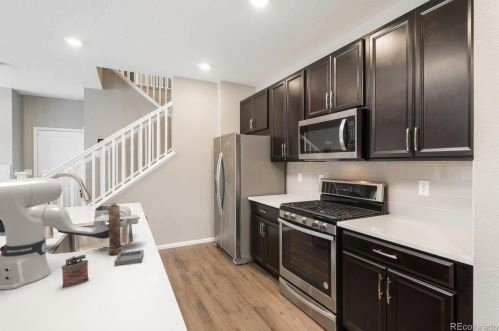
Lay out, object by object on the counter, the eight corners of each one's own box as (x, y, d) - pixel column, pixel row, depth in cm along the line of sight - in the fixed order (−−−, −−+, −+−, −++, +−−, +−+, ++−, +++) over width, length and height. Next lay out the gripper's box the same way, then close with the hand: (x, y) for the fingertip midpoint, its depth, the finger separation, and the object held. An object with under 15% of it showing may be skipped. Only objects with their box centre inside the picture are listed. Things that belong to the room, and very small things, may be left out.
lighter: (62, 288, 89) (61, 261, 88) (61, 285, 91) (60, 258, 91) (89, 281, 94) (88, 254, 94) (87, 278, 97) (87, 252, 96)
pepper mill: (107, 255, 118) (105, 203, 118) (110, 251, 124) (108, 202, 123) (120, 254, 120) (119, 203, 119) (122, 250, 125) (121, 201, 125)
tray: (114, 266, 107) (114, 261, 107) (119, 256, 117) (119, 252, 117) (141, 262, 110) (141, 258, 110) (143, 253, 120) (143, 249, 120)
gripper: (140, 222, 137) (137, 229, 124) (98, 225, 131) (90, 233, 118) (140, 210, 137) (137, 216, 124) (97, 214, 130) (90, 220, 117)
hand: (114, 224), depth 121 cm, fingers closed on pepper mill, 5 cm apart
